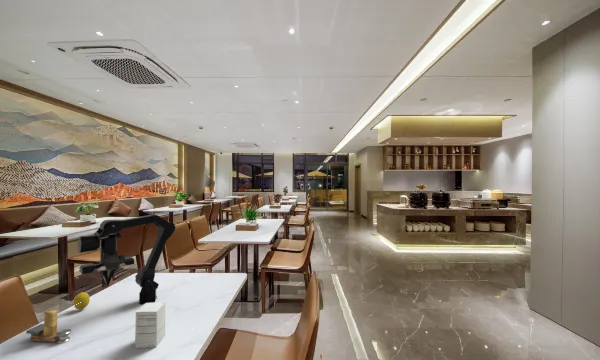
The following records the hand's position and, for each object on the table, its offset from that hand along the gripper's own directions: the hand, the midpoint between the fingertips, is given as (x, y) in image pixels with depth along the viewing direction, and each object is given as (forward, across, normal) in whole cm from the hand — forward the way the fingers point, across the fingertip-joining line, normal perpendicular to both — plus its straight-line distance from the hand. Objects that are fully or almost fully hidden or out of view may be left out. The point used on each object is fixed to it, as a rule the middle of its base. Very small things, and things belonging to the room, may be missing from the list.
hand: (107, 284), depth 112 cm
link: (+13, -19, -6) cm, 24 cm away
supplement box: (+13, +4, -36) cm, 39 cm away
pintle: (+13, -16, -11) cm, 23 cm away
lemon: (+13, -6, +13) cm, 20 cm away
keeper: (+13, -21, -2) cm, 25 cm away
